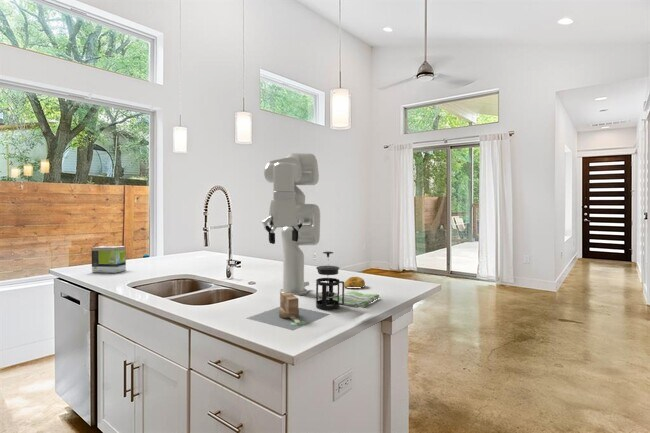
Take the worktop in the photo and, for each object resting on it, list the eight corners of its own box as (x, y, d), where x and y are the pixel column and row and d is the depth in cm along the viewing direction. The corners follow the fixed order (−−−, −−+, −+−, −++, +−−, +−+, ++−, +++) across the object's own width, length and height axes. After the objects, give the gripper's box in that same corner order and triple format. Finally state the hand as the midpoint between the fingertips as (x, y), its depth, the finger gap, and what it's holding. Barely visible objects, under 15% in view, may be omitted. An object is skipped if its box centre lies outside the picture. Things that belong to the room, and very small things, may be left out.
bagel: (339, 286, 189) (339, 276, 189) (358, 284, 194) (358, 275, 194) (349, 290, 180) (349, 280, 180) (368, 288, 185) (368, 278, 185)
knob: (275, 312, 137) (275, 293, 137) (293, 310, 140) (293, 291, 139) (288, 325, 123) (288, 303, 123) (308, 322, 126) (308, 301, 126)
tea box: (126, 270, 226) (126, 245, 225) (115, 273, 216) (115, 247, 215) (103, 269, 227) (102, 245, 227) (91, 272, 217) (90, 247, 217)
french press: (310, 312, 143) (310, 252, 142) (318, 306, 152) (318, 249, 151) (340, 315, 140) (340, 254, 139) (346, 309, 149) (347, 251, 148)
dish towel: (319, 306, 154) (319, 297, 154) (346, 294, 174) (347, 287, 173) (356, 313, 145) (356, 304, 145) (381, 300, 164) (381, 292, 164)
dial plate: (285, 308, 148) (285, 304, 148) (329, 318, 137) (329, 313, 137) (246, 322, 131) (246, 317, 131) (293, 334, 119) (293, 329, 119)
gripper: (298, 195, 147) (298, 239, 149) (257, 196, 137) (258, 242, 139) (308, 196, 141) (308, 241, 143) (267, 197, 131) (267, 245, 133)
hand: (283, 242), depth 141 cm, fingers open, 9 cm apart
